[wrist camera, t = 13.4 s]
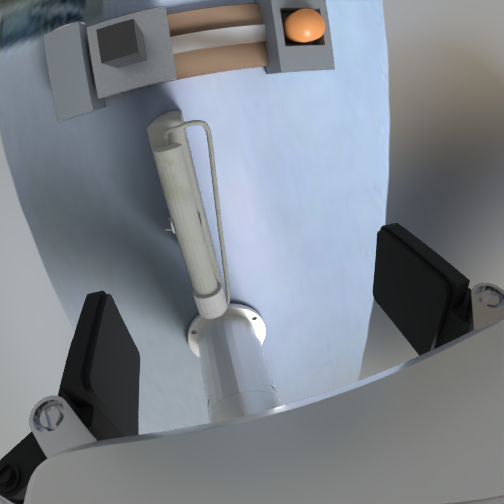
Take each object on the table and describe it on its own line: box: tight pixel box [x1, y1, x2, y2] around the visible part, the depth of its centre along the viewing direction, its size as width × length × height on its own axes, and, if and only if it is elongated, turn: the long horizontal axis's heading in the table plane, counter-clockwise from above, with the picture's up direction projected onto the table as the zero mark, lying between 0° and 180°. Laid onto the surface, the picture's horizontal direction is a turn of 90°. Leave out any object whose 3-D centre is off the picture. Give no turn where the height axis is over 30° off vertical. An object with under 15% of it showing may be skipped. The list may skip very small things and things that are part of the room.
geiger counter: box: [147, 111, 230, 319], centre depth 34 cm, size 14×6×25 cm
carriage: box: [87, 6, 177, 99], centre depth 23 cm, size 8×8×10 cm
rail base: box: [101, 3, 268, 99], centre depth 29 cm, size 8×29×2 cm, turn 98°
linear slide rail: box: [43, 0, 335, 122], centre depth 28 cm, size 10×29×6 cm, turn 98°
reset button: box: [282, 8, 325, 44], centre depth 27 cm, size 4×4×4 cm
